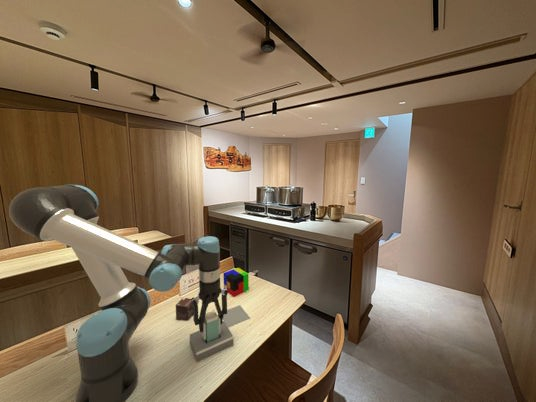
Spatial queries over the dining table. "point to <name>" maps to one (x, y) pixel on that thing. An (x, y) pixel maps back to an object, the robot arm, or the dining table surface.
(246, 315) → the mat
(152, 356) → the dining table surface
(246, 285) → the puzzle toy
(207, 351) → the frame
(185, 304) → the box
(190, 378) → the dining table surface
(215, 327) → the plug
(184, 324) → the dining table surface
